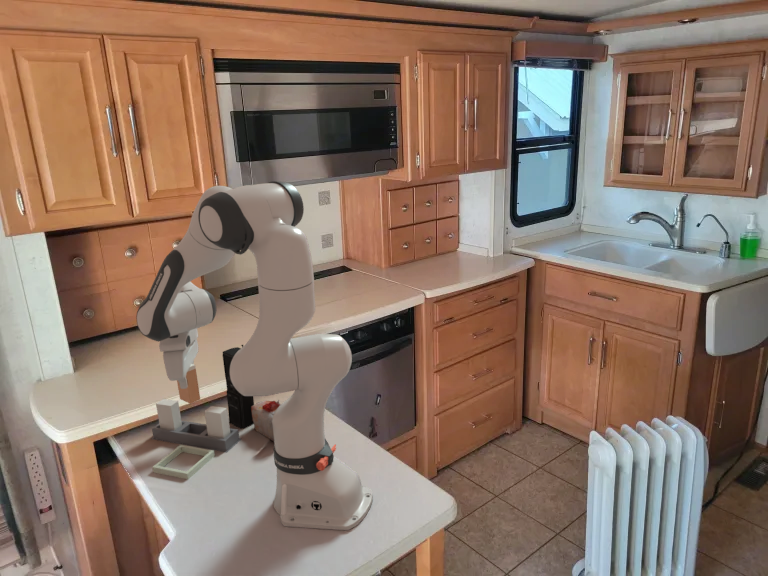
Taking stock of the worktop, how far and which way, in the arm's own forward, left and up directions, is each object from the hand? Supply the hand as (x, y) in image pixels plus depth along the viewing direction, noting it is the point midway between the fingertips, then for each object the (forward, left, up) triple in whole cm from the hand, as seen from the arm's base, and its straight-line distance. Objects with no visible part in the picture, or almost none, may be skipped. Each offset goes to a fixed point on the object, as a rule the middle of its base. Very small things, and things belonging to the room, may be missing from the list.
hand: (187, 381), depth 151 cm
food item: (-19, -10, -19) cm, 28 cm away
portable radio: (-7, -12, -18) cm, 23 cm away
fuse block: (0, 0, -18) cm, 18 cm away
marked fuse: (0, 0, -5) cm, 5 cm away
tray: (-5, +11, -18) cm, 22 cm away
